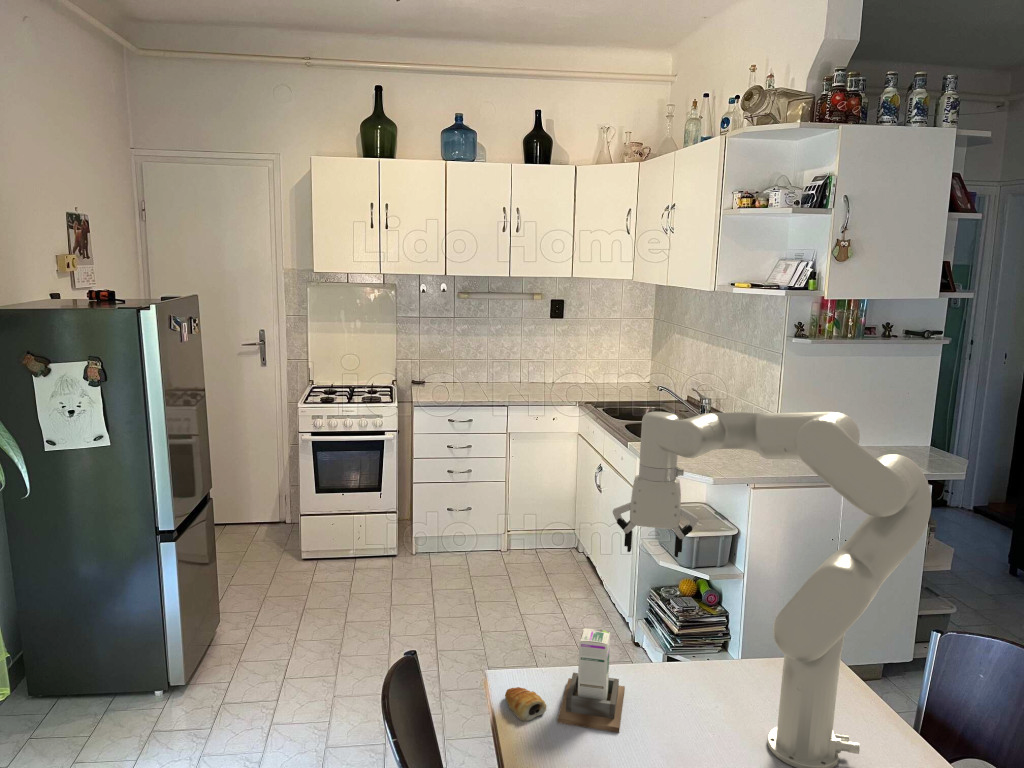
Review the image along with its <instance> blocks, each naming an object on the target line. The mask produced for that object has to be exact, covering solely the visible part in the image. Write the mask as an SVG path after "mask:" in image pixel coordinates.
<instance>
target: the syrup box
mask: <svg viewBox="0 0 1024 768" xmlns="http://www.w3.org/2000/svg"><path fill="white" fill-rule="evenodd" d="M578 643H579V644H578V645H579V646H578V670H577V671H578V672H577V673H578V696H579V697H586V698H593V699H599V700H606V701H607V698H608V679H609V678H610V673H609V672H610V652H611V651H610V649H611V648H610V644H611V632H610V630H605V629H598V628H583V629H582V631H581V634H580V637H579V642H578Z"/></svg>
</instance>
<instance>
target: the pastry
mask: <svg viewBox="0 0 1024 768" xmlns="http://www.w3.org/2000/svg"><path fill="white" fill-rule="evenodd" d="M504 697H505V699H506V700H505V701H506V703H507V704H508V708H509V711H511V712H512V713H513V714H514V715H515V717H516V718H518V719H519V720H520V721H523V722H526V721H527V722H528V721H531V720H533V719H535V718H536V717H539V716H541V715H544V714H545V712H546V711H547V704H546V701H544V700H543V698H542V697H541V696H540V695H538V694H537V693H536V692H535V691H533V690H532V691H530V690H528V689H527V688H524V687H523V688H522V687H519V686H518V687H511V688H508V689H507V690H506V691H505V694H504Z"/></svg>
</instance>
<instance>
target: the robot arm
mask: <svg viewBox="0 0 1024 768" xmlns="http://www.w3.org/2000/svg"><path fill="white" fill-rule="evenodd" d="M640 432H641V433H640V448H639V467H638V474H637V475H635V476H634V479H633V484H632V489H631V497H630V498H631V499H630V501H629V502H628V503H626V504H623V505H620V506H618V507H615V508H613V509H612V514H613V515H612V516H613V517H614V519H615V521H616V524H617V525H618V526H619V527H620V528H621V529H622V531H623V532H624V541H623V542H624V544H623V545H624V546H623V547H626V548H627V550H626V552H627V553H630V552H631V551H632V546H633V545H632V544H633V543H632V542H633V529H634V528H635V527H636V526H637V527H642V528H643V527H644V528H655V529H662V530H663V529H665V530H673V532H674V533H675V541H674V557H675V558H679V553H682V552H683V539H684V538H685V537H686V536H687V535H689V534H690V533H691V532H693V529H694V528H695V527H696V525H697V523H698V522H699V517H698V516H697V515H695V514H693V513H692V512H690V511H688V510H687V509H686V508H684V507H681V504H682V502H681V500H682V493H681V491H682V490H681V482H680V479H679V478H678V477H681V476H684V475H685V474H684V473H685V472H684V470H685V469H684V468H679V466H678V456H679V457H682V458H685V459H686V458H687V459H695V458H699V457H700V456H703V455H706V454H707V453H709V452H712V451H713V450H714V451H715V450H746V451H751V452H752V451H753V452H756V453H757V454H759V455H760V457H762V458H764V459H767V460H801V461H802V462H803V463H804V464H805V465H806V466H807V467H808V468H809V469H810V470H811V471H812V472H813V473H814V474H815V475H817V476H818V477H819V478H820V479H821V480H822V481H823V482H825V483H826V484H827V485H828V486H829V487H831V488H832V489H833V490H834V491H835V492H837V494H839V495H841V496H842V498H844V499H845V500H846V501H847V502H849V503H850V504H851V505H852V506H854V507H855V508H857V509H858V510H859V511H861V512H862V513H864V514H867V517H866V518H865V519H864V520H863V521H862V522H861V524H859V526H858V527H857V528H856V530H855V531H854V532H853V533H852V534H851V535H850V537H849V538H848V539H847V540H846V541H845V542H844V543H843V544H842V546H841V547H839V549H837V551H835V552H834V553H832V555H829V557H827V558H826V559H825V560H824V561H823V562H822V563H821V564H820V565H819V566H818V567H817V568H816V569H815V570H814V572H812V574H811V575H810V576H809V578H808V579H807V580H806V581H805V582H804V583H803V585H801V587H800V588H799V589H798V590H797V591H796V592H795V594H794V595H793V596H792V598H790V600H789V601H788V602H787V603H786V604H785V605H784V606H783V608H782V609H781V610H780V611H779V612H778V613H777V615H776V616H775V618H774V622H773V625H772V636H773V639H774V642H775V644H776V646H777V648H778V649H779V651H781V652H782V654H783V662H782V663H783V665H782V675H781V682H780V683H781V686H780V695H779V705H778V716H777V717H778V718H777V725H776V726H775V727H774V728H772V729H771V730H770V731H769V733H768V734H767V740H766V741H767V746H768V748H769V750H770V752H771V753H772V754H773V755H774V756H775V757H776V758H778V759H779V760H780V761H782V762H784V763H785V764H787V765H789V766H792V767H794V768H834V767H836V766H837V765H838V763H839V760H840V753H842V752H847V753H852V754H858V755H859V754H860V743H859V742H856V741H850V735H849V734H843V733H836V732H835V731H834V730H833V729H834V720H835V710H836V701H837V691H838V684H839V683H838V682H839V676H840V667H841V658H842V652H843V647H844V644H845V643H844V641H845V636H846V632H848V630H849V629H850V628H851V627H852V626H853V625H854V624H855V622H857V621H858V619H860V617H861V616H862V615H863V614H864V612H866V610H867V609H868V608H869V606H870V604H871V603H872V602H873V600H874V598H875V597H876V596H877V594H878V592H879V590H880V588H881V586H882V585H883V584H884V582H885V581H886V580H887V579H888V578H889V576H890V575H891V574H892V573H893V572H894V571H895V570H896V569H897V567H899V565H900V564H901V563H902V561H904V559H905V558H906V557H907V556H908V554H910V553H911V551H912V550H913V549H914V547H915V546H916V545H917V544H918V542H919V541H920V540H921V538H922V536H923V534H924V532H925V530H926V528H927V526H928V523H929V520H930V516H931V511H932V493H931V489H930V486H929V482H928V480H927V477H926V476H925V474H924V472H923V470H922V469H921V468H920V466H919V465H918V464H917V463H916V462H914V461H913V460H912V459H910V458H909V457H907V456H905V455H903V454H897V453H895V454H894V453H892V454H883V455H881V456H879V457H875V456H873V455H872V454H871V453H870V452H869V451H867V449H865V448H864V447H862V446H861V445H859V443H860V439H861V438H860V429H859V427H858V424H857V422H856V421H855V420H854V419H853V418H851V416H849V415H847V414H845V413H843V412H842V413H841V412H835V411H813V412H811V411H810V412H806V411H805V412H743V411H742V412H741V411H740V412H739V411H737V412H735V411H734V412H708V413H707V412H706V413H702V414H698V415H695V416H691V417H688V418H685V419H680V418H679V417H678V416H677V415H676V414H674V413H671V412H668V411H649V412H647V413H645V414H644V415H643V416H642V420H641V431H640ZM627 512H629V521H626V520H625V519H624V518H623V517H622V514H624V513H627ZM681 516H682V517H683V518H685V519H686V520H688V522H687V524H686V525H684V527H683V526H681V524H680V521H681Z"/></svg>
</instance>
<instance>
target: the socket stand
mask: <svg viewBox="0 0 1024 768" xmlns="http://www.w3.org/2000/svg"><path fill="white" fill-rule="evenodd" d="M619 682H620V678H616V677H615V678H613V677H609V679H608V698H607V701H606V700H599V699H593V698H586V697H579V696H578V672H572V676H571V677H570V678H568V679H567V683H566V687H565V691H564V694H563V698H562V702H561V705H560V709H559V712H558V717H557V724H561V725H562V724H563V725H569V726H576V727H580V728H589V729H595V730H600V731H601V730H602V731H607V732H614V733H620V728H621V720H622V712H623V706H624V697H625V689H626V686H625V685H619V684H620V683H619Z"/></svg>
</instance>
